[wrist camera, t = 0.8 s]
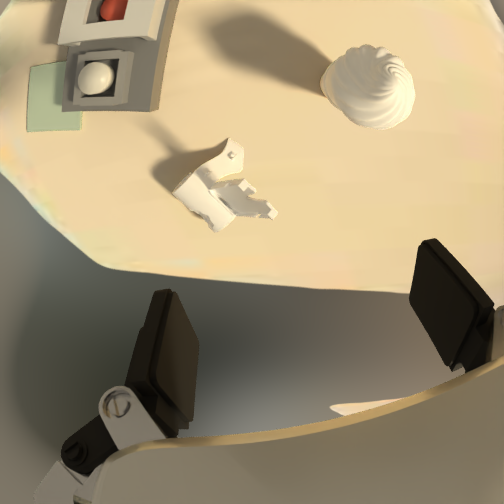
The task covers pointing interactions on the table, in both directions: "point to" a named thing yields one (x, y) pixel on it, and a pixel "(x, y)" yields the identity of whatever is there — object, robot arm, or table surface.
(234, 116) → the table surface
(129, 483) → the robot arm
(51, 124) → the mat
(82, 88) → the on button
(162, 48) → the grey push-button box
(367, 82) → the soft serve ice cream cone
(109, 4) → the breaker button
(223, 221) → the plastic part
